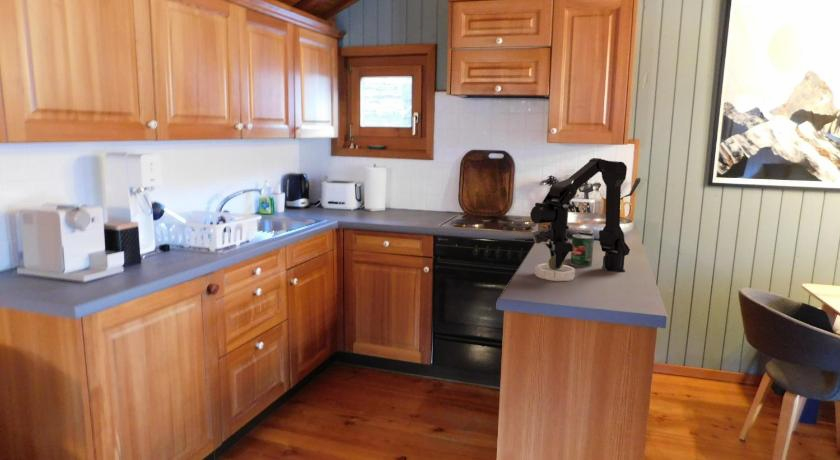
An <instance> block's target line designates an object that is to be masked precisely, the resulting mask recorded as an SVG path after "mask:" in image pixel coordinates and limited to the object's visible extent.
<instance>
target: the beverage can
mask: <svg viewBox="0 0 840 460" xmlns="http://www.w3.org/2000/svg"><path fill="white" fill-rule="evenodd" d="M593 230H594V229H591V228H584V227H583V228H579V230H578V233H577V234H582V235H590V236H593V237H594V231H593Z"/></svg>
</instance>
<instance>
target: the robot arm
mask: <svg viewBox="0 0 840 460" xmlns="http://www.w3.org/2000/svg"><path fill="white" fill-rule="evenodd" d="M627 171H628V167H627V164H625V163H624V162H623V161H616V160H606V159H604V158H598V157H593V158H590V159H589V160H588V162H587V163H586V164H584V165H583V166H582V167H581V168H579V169H578V170H577V171H576V172H574V173H573V174H572V175H571V176H570V177H568V178H566V179H564V180H561V181H558V182H556V183H554V184H553V185H552V186H550V188H549V191H548V193H547V194H546V196H545V197H544V199H543V200H542V201H541V202H535V204H534V207H532V208H531V211H530V212H529V214H530V220H531V221H532V223H534V224H538V223H550V224H549V225H548V227H547V228H546V229H542V230H539V231H538V230H537V231H533V232H532V239H533V241H534V243H536V244H541V243H542V242H543V243H544V246H546V247H547V248H548V249H549V254H550V258H551V257H552V256H554V255H555V265H556V269H559V268H560V266H561V264H562V263H563V264H564V261H565V259H566V258H567V256H568V254H569V253H571V252H572V251H573V247H574V246H573V245H572V242H570V241H569V238H568V237H567V233H568V232H567V231H568V230H569V229H570V227H569V225H568V220H569V219H568V217H569V210H572V209H574V206H573V205H572V204H571V201H572V200H573V198H575V197H576V195H577V192H578V190H579V189H580V188H581V187H583V185H584V184H586V183H587V182H588V181H589V180H590V179H592V178H593V177H594V176H595V175H597V174H598V173H601V179H602V181H603V183H604V184H605V219H604V220H605V225H604V227H603V228H602V230H601V229H599V231H598V236H599V237H598V242H599V245H600V247H601V252H604V256H603V257H602V266H601V267H602V268H603V269H604V270H606V271H607V272H626V269H624V267H625V259H626V258H625V257H626V256H629V254H630V252H631V249H630V247H629V246H628V244H627V243H626V240H625V233H624V231H623V229H622V228H621V227H622V226H621V197H622V195H621V193H622V189H621V188H622V186H623V184H624V182H625V180H627V179H626V177H627Z"/></svg>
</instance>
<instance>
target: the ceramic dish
mask: <svg viewBox="0 0 840 460" xmlns="http://www.w3.org/2000/svg"><path fill="white" fill-rule="evenodd" d="M534 268H535V269H534V270H535V271H534V272H535V277H537V278H539V279H542V280H547V281H554V282H568V281H569V282H570V281H573V280H574V279H575V276H576V269H575V268H574V267H573V266H569V265H566V264H563V265H562V267H561V268H560V269H558V270H552V269H550V268H549V263H539V264H536V265H535V267H534Z"/></svg>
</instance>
